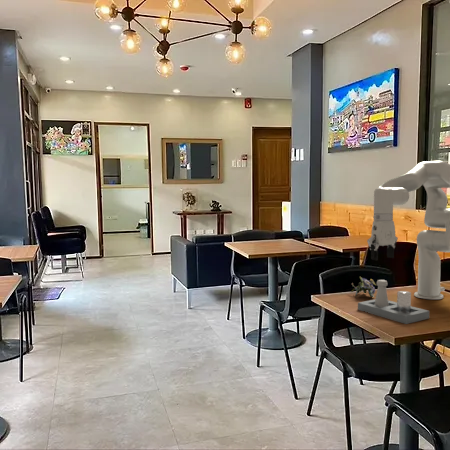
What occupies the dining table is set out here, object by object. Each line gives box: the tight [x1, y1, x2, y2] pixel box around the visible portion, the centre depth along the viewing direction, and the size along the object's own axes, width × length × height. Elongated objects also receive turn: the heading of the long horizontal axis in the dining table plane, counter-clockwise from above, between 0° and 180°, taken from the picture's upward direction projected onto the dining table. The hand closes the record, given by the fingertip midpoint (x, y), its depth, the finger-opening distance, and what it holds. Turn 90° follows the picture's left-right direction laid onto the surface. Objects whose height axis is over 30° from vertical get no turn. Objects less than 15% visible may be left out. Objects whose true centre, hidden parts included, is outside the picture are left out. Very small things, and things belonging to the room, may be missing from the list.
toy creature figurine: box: [351, 276, 377, 298], centre depth 211 cm, size 11×11×12 cm
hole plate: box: [357, 298, 430, 325], centre depth 182 cm, size 14×24×3 cm, turn 30°
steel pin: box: [396, 290, 412, 314], centre depth 177 cm, size 5×5×10 cm
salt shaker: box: [374, 279, 389, 307], centre depth 186 cm, size 6×6×13 cm
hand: (382, 258), depth 185 cm, fingers open, 9 cm apart
